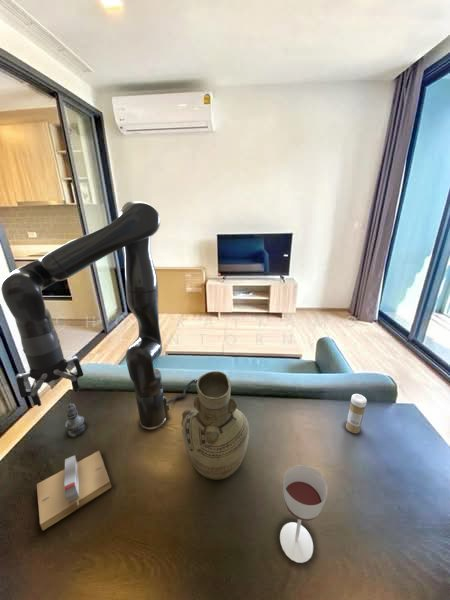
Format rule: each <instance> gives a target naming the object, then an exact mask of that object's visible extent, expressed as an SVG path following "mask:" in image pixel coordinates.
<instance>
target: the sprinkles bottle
mask: <svg viewBox="0 0 450 600" xmlns="http://www.w3.org/2000/svg"><path fill="white" fill-rule="evenodd" d="M367 403H368V400H367V398H366V397H365V396H364V395H362V394H360V393H354V394H352V395H351V398H350V404H349V408H348V409H349V410H348V414H347V418H346V419H347V420H346V424H345V428H346V429H347V431H348V432H350V433H352V434H359V433H360V432H361V426H362V423H363V419H364V413H365V409H366V406H367Z"/></svg>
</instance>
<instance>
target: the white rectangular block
mask: <svg viewBox="0 0 450 600" xmlns="http://www.w3.org/2000/svg"><path fill="white" fill-rule="evenodd" d="M77 462H78V460H77V457H76V455H72V456H69V457H67V458H65V459H64V469H65V479H64V493H65V495H66V498H67V501H68V502H70V501H72V500H74V499H76V498H78V497H79V481H78V463H77Z"/></svg>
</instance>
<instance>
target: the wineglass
mask: <svg viewBox="0 0 450 600" xmlns="http://www.w3.org/2000/svg"><path fill="white" fill-rule="evenodd" d="M282 489H283V498H284V502H285V506H286V508H287V510H288V512H289V513H290V514H291V516H293V517H294V518H296V519H297V521H296V522H293V521H290V522H287V523H285V524H284V525H283V526H282V528H281V529H280V534H279V541H280V545H281V548H282V551H283V552H284V554H285V555H286V557H288V559H290V560H291V561H293V562H295V563H301V564H303V563H306V562H308V561H309V560H311V558H312V556H313V553H314V543H313V538H312V536H311V534H310V533H309V530H307V529H306V528H305V527H304V526H303V525H302V521H305V522H309V521H312V520H314V519H316V518H317V517H318V516H319V515H320V513H321V512H322V510H323V507H324V505H325V503H326V499H327V496H328V485H327V482H326V480H325V478H324V477H323V475H322V474H321V473H320V472H319V471H318V470H317V469H315V468H313V467H312V466H309V465H305V464H296V465H293V466H290V467H289V468H288V469H287V470H286V471H285V473H284V475H283V484H282Z"/></svg>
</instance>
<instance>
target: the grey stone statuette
mask: <svg viewBox="0 0 450 600" xmlns="http://www.w3.org/2000/svg"><path fill="white" fill-rule="evenodd" d="M65 412H66V413H65V414H66V415H65V417H66V419H67V421H66V422H65V424H64V428H65V429H66V430H67V434H68V436H69V437H76V436H79V435H81V434H82V433H83V432H84V431H85V429H86V425H85V424H84V422H85V417H84V416H83V415H79V411H78V410H77V408H76V405H75V404H74V403H69V402H68V404H67V405H66V406H65Z"/></svg>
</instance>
